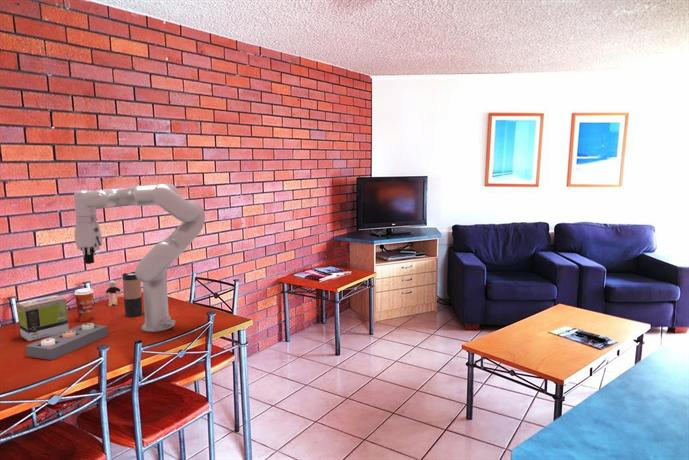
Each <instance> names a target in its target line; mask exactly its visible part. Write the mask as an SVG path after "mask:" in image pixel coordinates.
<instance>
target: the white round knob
mask: <svg viewBox="0 0 689 460" xmlns="http://www.w3.org/2000/svg"><path fill="white" fill-rule="evenodd" d="M43 339H44V340H43ZM43 339H41V340H42V341H41V346H43V347H49V346H51V345H54V344H55V339H54V338H49V339H45V338H43Z"/></svg>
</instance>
